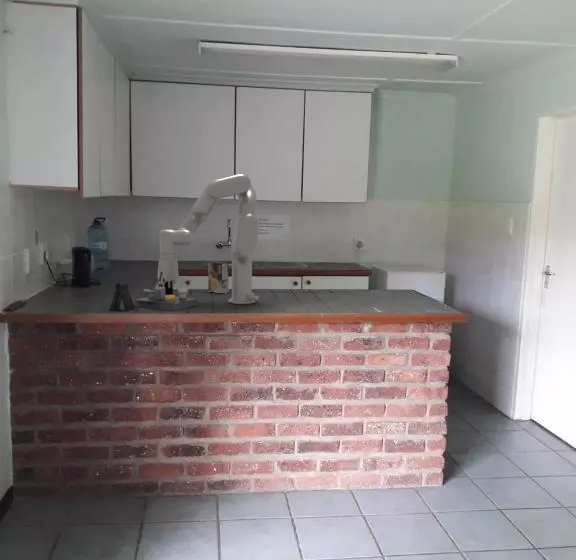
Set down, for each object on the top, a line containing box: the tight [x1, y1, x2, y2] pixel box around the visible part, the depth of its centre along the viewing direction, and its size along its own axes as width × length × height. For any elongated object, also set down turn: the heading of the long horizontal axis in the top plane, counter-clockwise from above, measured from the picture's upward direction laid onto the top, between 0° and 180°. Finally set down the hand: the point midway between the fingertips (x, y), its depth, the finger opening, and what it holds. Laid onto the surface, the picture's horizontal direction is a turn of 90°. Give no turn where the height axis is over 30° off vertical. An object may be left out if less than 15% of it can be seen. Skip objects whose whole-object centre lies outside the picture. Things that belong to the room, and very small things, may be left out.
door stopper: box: [109, 281, 136, 312], centre depth 259 cm, size 9×6×12 cm, turn 78°
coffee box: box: [207, 261, 229, 294], centre depth 309 cm, size 9×6×16 cm
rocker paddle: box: [143, 288, 156, 295], centre depth 273 cm, size 5×9×2 cm, turn 152°
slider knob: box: [155, 286, 165, 299], centre depth 268 cm, size 3×3×5 cm
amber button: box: [165, 294, 176, 303], centre depth 263 cm, size 4×4×5 cm
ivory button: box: [177, 287, 189, 300], centre depth 271 cm, size 4×4×5 cm
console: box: [134, 293, 198, 312], centre depth 270 cm, size 22×17×4 cm
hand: (169, 296), depth 273 cm, fingers closed
